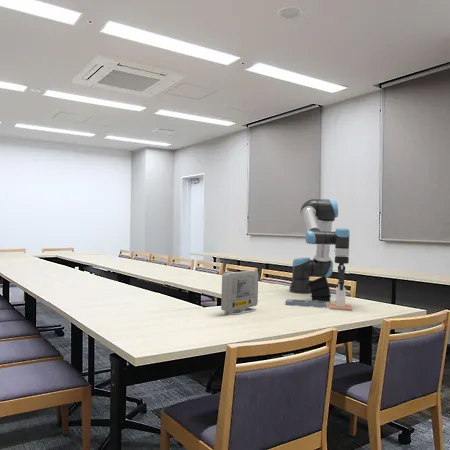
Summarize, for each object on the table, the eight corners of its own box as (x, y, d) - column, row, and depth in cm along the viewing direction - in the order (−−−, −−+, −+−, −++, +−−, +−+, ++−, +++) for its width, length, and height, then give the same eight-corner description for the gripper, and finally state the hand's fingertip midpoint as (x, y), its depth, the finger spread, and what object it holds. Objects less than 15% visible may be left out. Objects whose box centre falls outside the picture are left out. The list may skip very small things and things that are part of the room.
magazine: (334, 299, 254) (324, 276, 257) (314, 307, 259) (304, 283, 262) (335, 298, 258) (325, 275, 260) (315, 306, 263) (306, 283, 265)
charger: (335, 305, 240) (336, 287, 240) (345, 305, 239) (345, 287, 239) (335, 306, 236) (336, 288, 237) (345, 306, 235) (345, 288, 235)
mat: (329, 304, 246) (329, 303, 246) (351, 306, 243) (351, 304, 243) (329, 308, 232) (329, 307, 232) (352, 310, 230) (352, 309, 230)
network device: (248, 307, 230) (249, 270, 230) (261, 309, 224) (262, 271, 225) (217, 313, 210) (218, 273, 210) (231, 316, 205) (232, 274, 205)
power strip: (286, 302, 249) (286, 298, 249) (325, 305, 243) (325, 301, 243) (285, 304, 241) (285, 300, 241) (325, 307, 236) (325, 303, 236)
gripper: (334, 254, 251) (333, 290, 251) (335, 257, 227) (334, 297, 227) (347, 255, 249) (346, 291, 249) (349, 257, 225) (348, 298, 225)
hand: (340, 294), depth 238 cm, fingers open, 13 cm apart
